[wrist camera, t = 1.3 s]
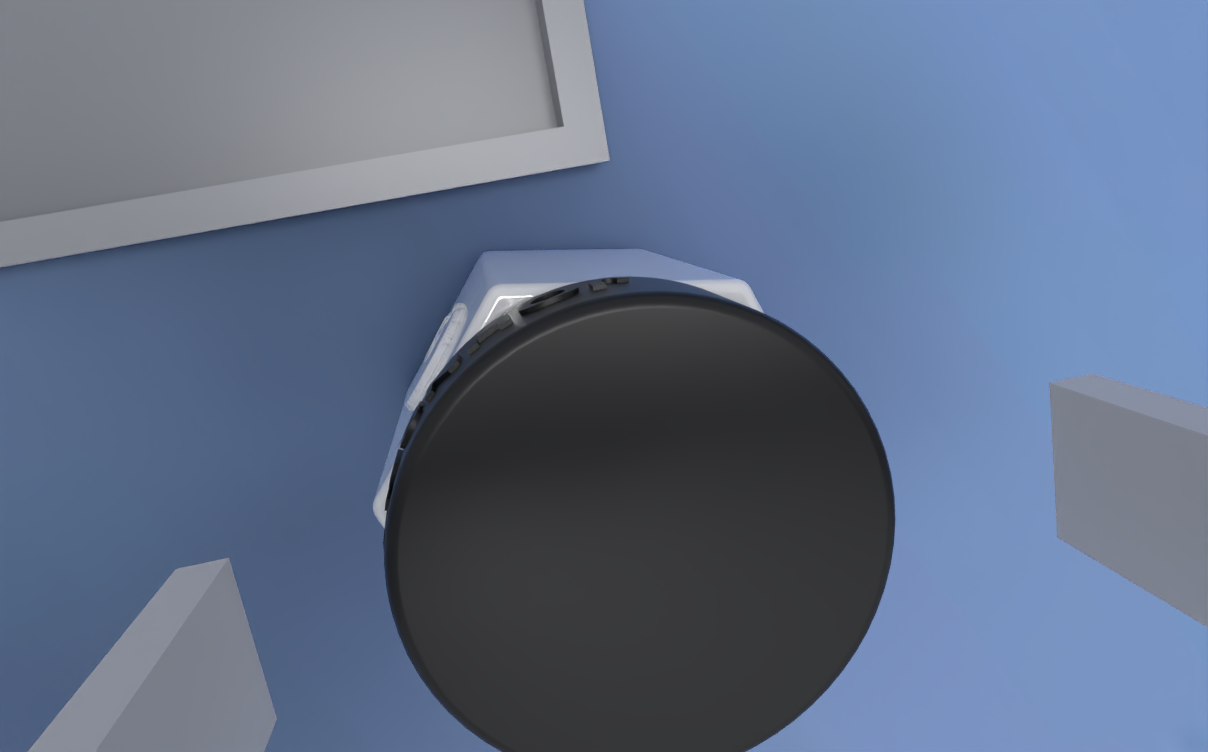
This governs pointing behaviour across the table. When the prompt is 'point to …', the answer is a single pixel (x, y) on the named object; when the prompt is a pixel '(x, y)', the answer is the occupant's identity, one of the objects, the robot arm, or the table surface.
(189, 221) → the divided grey tray
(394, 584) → the jar
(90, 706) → the robot arm
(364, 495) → the table surface
